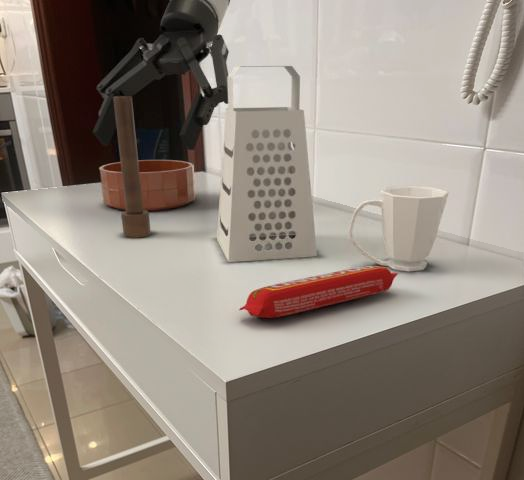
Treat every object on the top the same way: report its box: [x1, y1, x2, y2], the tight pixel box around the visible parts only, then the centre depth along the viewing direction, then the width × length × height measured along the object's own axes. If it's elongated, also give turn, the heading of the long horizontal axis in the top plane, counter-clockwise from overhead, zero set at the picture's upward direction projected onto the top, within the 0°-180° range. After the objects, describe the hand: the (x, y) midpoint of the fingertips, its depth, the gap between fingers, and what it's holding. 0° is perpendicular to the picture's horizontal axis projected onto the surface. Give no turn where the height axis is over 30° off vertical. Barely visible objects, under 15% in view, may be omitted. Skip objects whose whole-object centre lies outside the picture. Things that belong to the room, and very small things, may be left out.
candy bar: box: [238, 265, 399, 319], centre depth 51 cm, size 16×4×3 cm, turn 121°
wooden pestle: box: [113, 95, 152, 239], centre depth 72 cm, size 4×4×17 cm
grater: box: [216, 65, 318, 263], centre depth 65 cm, size 10×10×20 cm
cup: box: [348, 185, 449, 272], centre depth 60 cm, size 7×10×8 cm
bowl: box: [98, 159, 196, 212], centre depth 93 cm, size 15×15×6 cm
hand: (141, 141), depth 73 cm, fingers open, 13 cm apart
